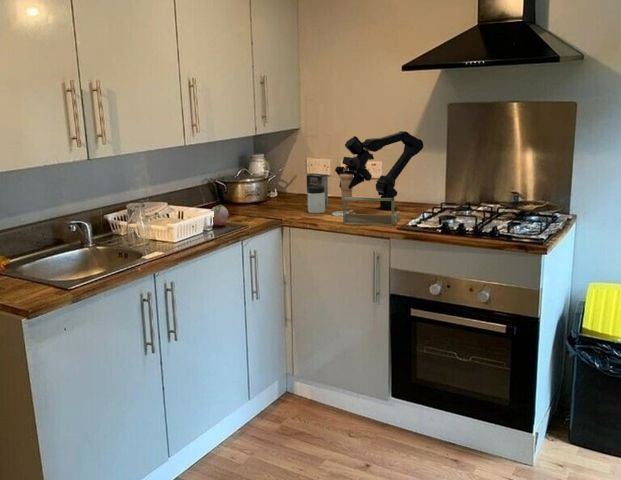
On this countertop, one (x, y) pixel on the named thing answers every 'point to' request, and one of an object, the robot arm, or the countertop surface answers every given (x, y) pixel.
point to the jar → (316, 199)
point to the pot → (346, 185)
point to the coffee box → (318, 184)
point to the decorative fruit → (220, 215)
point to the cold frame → (369, 218)
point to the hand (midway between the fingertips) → (344, 187)
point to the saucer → (339, 213)
